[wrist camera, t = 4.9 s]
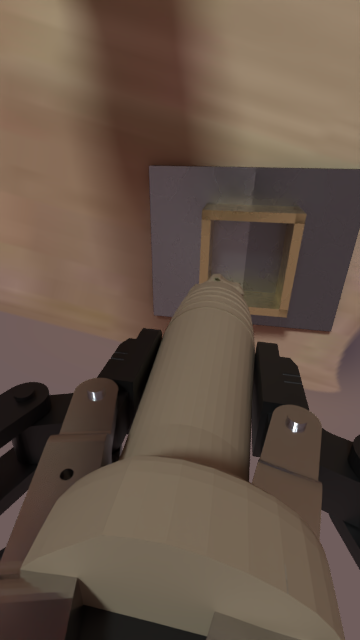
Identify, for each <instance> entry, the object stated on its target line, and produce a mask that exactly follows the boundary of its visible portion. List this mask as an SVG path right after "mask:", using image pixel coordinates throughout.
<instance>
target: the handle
mask: <svg viewBox="0 0 360 640" xmlns="http://www.w3.org/2000/svg"><path fill="white" fill-rule="evenodd" d="M243 296H244V291H243V289H242V287H241V286H240V284H239V283H237V282H235V283H234V282H230V281H228V280H226V279H225V278H224V277H223V276H222V275H221V274H213V275H212V276H211V278H210V279H208V280H207V281H206V282H204V283H201V284H195V285H194V286H193V287H192V288H191V289H190V291H189V292H188V294H187V296H186V297H185V298H184V300H183V301H182V302H181V304H180V306H179V307H178V309H177V310H176V312H175V314H174V315H173V317H172V319H171V321H170V323H169V325H168V327H167V329H166V331H165V333H164V336H163V338H162V341H161V344H160V347H159V350H158V353H157V355H156V358H155V361H154V364H153V367H152V370H151V373H150V376H149V379H148V382H147V384H146V387H145V390H144V393H143V396H142V399H141V401H140V404H139V407H138V410H137V412H136V415H135V418H134V421H133V424H132V426H131V429H130V432H129V435H128V438H127V440H126V443H125V446H124V449H123V451H122V453H121V455H120V458H119V460H118V461H117V462H114V463H112V464H109V465H106V466H104V467H101V468H99V469H97V470H95V471H93V472H91V473H89V474H87V475H86V476H84V477H82V478H81V479H79V480H78V481H76V482H75V483H74V484H73V485H72V486H71V487H70V488H69V489H68V490H67V491H66V492H65V493H64V494H63V495H62V496H61V497H59V498H58V500H57V501H56V503H55V505H54V506H53V508H52V510H51V512H50V513H49V515H48V517H47V519H46V521H45V522H44V524H43V526H42V528H41V530H40V531H39V533H38V535H37V537H36V539H35V541H34V543H33V545H32V547H31V548H30V550H29V552H28V554H27V556H26V558H25V560H24V562H23V564H22V566H21V569H22V570H27V571H33V572H40V573H48V574H56V575H64V576H71V577H77V578H78V581H79V586H80V590H81V594H82V598H83V605H87V606H91V607H95V608H99V609H103V610H107V611H111V612H115V613H119V614H123V615H127V616H131V617H135V618H139V619H143V620H146V621H150V622H154V623H158V624H162V625H166V626H170V627H173V628H177V629H181V630H185V631H189V632H192V633H196V634H200V635H204V636H207V635H208V632H209V628H210V625H211V622H212V618H213V615H214V612H215V611H216V612H219V613H222V614H225V615H228V616H231V617H233V618H236V619H239V620H242V621H244V622H247V623H250V624H253V625H256V626H258V627H261V628H264V629H267V630H270V631H273V632H277V633H280V634H283V635H287V636H290V637H293V638H297V639H300V640H345V637H344V632H343V627H342V623H341V618H340V613H339V609H338V604H337V599H336V595H335V590H334V586H333V582H332V577H331V573H330V569H329V565H328V561H327V558H326V555H325V552H324V549H323V547H322V545H321V543H320V541H319V540H318V538H317V537H316V535H315V534H314V532H313V531H312V529H311V528H310V527H309V526H308V525H307V524H306V522H305V521H304V520H303V519H302V518H301V517H300V516H299V515H298V514H297V513H296V512H295V511H293V510H292V509H290V508H289V507H288V506H286V505H285V504H284V503H282V502H281V501H279V500H278V499H277V498H275V497H274V496H272V495H271V494H269V493H268V492H266V491H264V490H263V489H261V488H259V487H257V486H255V485H253V484H252V483H250V482H249V466H250V442H251V440H250V439H251V417H252V398H253V380H254V362H255V344H254V332H253V325H252V320H251V315H250V311H249V308H248V306H247V303H246V301H245V299H244V298H243Z"/></svg>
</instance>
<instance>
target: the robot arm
mask: <svg viewBox="0 0 360 640" xmlns="http://www.w3.org/2000/svg"><path fill="white" fill-rule="evenodd" d="M161 341H162V332H161V330H155V329H146V328H143V329H142V331H141V332H140V334H139V335H138V337H137V339H131V338H129V339H127V340H126V341H124V342H123V343H121V344H120V345H119V346H118V348H117V350H116V351H115V353H114V354H113V355H112V357H111V359H109V361H108V362H107V364H106V365H105V367H104V368H103V370H102V371H101V373H100V374H99V375H98V377H97V378H93V379H89V380H87V381H84V382H83V383H81V384H80V385H79V386H77V388H76V389H75V391H74V393H70V394H59V395H49V390H48V388H47V386H45V385H44V384H42V383H38V382H29V383H24V384H20V385H17V386H15V387H13V388H11V389H9V390H8V391H6V392H4V393H3V394H1V395H0V448H1V447H3V446H4V445H5V444H7V443H8V442H9V441H11V440H12V443H13V446H14V447H13V448H12V449H11V450H9V451H8V452H7V453H5V454H4V455H3V456H1V457H0V515H1V514H2V513H3V512H4V511H5V510H7V509H8V508H9V507H10V506H11V505H12V504H13V503H14V502H15V501H16V500H18V499H19V497H21V496H22V495H23V494H24V493H25V492H26V491H27V490H28V492H27V494H26V497H25V499H24V502H23V504H22V507H21V509H20V512H19V515H18V517H17V520H16V523H15V525H14V527H13V530H12V533H11V535H10V538H9V541H8V543H7V546H6V547H5V548H4V549H2V550H1V551H0V640H300V639H297V638H293V637H290V636H287V635H283V634H280V633H277V632H273V631H270V630H267V629H264V628H261V627H258V626H256V625H253V624H250V623H247V622H244V621H242V620H239V619H236V618H233V617H231V616H228V615H225V614H222V613H219V612H216V611H215V612H214V615H213V618H212V622H211V625H210V628H209V632H208V635H207V636H204V635H200V634H196V633H192V632H189V631H185V630H181V629H177V628H173V627H170V626H166V625H162V624H158V623H154V622H150V621H146V620H143V619H139V618H135V617H131V616H127V615H123V614H119V613H115V612H111V611H107V610H103V609H99V608H95V607H91V606H87V605H83V598H82V594H81V590H80V586H79V581H78V578H77V577H71V576H64V575H56V574H48V573H40V572H33V571H27V570H22V569H21V566H22V564H23V562H24V560H25V558H26V556H27V554H28V552H29V550H30V548H31V547H32V545H33V543H34V541H35V539H36V537H37V535H38V533H39V531H40V530H41V528H42V526H43V524H44V522H45V521H46V519H47V517H48V515H49V513H50V512H51V510H52V508H53V506H54V505H55V503H56V501H57V500H58V498H59V497H61V496H62V495H63V494H64V493H65V492H66V491H67V490H68V489H69V488H70V487H71V486H72V485H73V484H74V483H75V482H76V481H78V480H79V479H81V478H82V477H84V476H86V475H87V474H89V473H91V472H93V471H95V470H97V469H99V468H101V467H104V466H106V465H109V464H112V463H114V462H117V461H118V460H119V458H120V455H121V453H122V443H123V440H124V438H125V436H126V434H129V432H130V429H131V426H132V424H133V421H134V418H135V415H136V412H137V410H138V407H139V404H140V401H141V399H142V396H143V393H144V390H145V387H146V384H147V382H148V379H149V376H150V373H151V370H152V367H153V364H154V361H155V358H156V355H157V353H158V350H159V347H160V344H161ZM252 452H253V456H256V457H260V459H259V460H258V463H257V467H256V470H255V474H254V478H253V481H252V484H253V485H255V486H257V487H259V488H261V489H263V490H264V491H266V492H268V493H269V494H271V495H272V496H274V497H275V498H277V499H278V500H279V501H281V502H282V503H284V504H285V505H286V506H288V507H289V508H290V509H292V510H293V511H295V512H296V513H297V514H298V515H299V516H300V517H301V518H302V519H303V520H304V521H305V522H306V524H307V525H308V526H309V527H310V528H311V529H312V531H313V532H314V534H315V535H316V537H317V538H318V540H319V539H320V522H321V510H323V511H325V512H327V513H329V515H330V518H331V520H332V522H333V524H334V525H335V527H336V529H337V531H338V532H339V534H340V536H341V538H342V539H343V541H344V543H345V544H346V546H347V548H348V550H349V552H350V553H351V555H352V557H353V558H354V560H355V562H356V564H357V566H358V567H359V569H360V435H359V436H357V437H356V438H355V439H354V442H351V441H349V440H346V439H344V438H341V437H338V436H336V435H333V434H331V433H329V432H327V431H326V430H324V429H323V428H322V426H321V423H320V421H319V419H318V418H317V417H316V416H315V415H314V414H313V413H312V412H310V411H309V408H308V404H307V400H306V396H305V392H304V388H303V385H302V381H301V377H300V373H299V370H298V366H297V365H296V364H295V363H294V362H293V361H292V360H291V359H290V358H285V357H280V356H279V351H278V345H277V344H274V343H265V342H258V343H257V347H256V353H255V362H254V380H253V398H252Z"/></svg>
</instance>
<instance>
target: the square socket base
mask: <svg viewBox="0 0 360 640" xmlns="http://www.w3.org/2000/svg"><path fill="white" fill-rule="evenodd" d="M149 183H150V213H151V243H152V273H153V303H154V315H158V316H169V317H173V315H174V314H175V312H176V310H177V309H178V307H179V306H180V304H181V302H182V301H183V300H184V298H185V297H186V296H187V294H188V292H189V291H190V289H191V288H192V287H193V286H194V285H195V284H201V283H204V282H206V281H207V280H208V279H210V278H211V276H212V275H213V274H221V275H222V276H223V277H224V278H225V279H226V280H228V281H230V282H234V283H235V282H237V283H239V284H240V286H241V287H242V289H243V291H244V296H243V298H244V299H245V301H246V303H247V306H248V308H249V311H250V315H251V320H252V324H255V325H266V326H277V327H288V328H299V329H309V330H320V331H331V329H332V326H333V322H334V318H335V315H336V311H337V308H338V304H339V300H340V297H341V293H342V290H343V286H344V282H345V279H346V275H347V271H348V268H349V264H350V261H351V257H352V253H353V250H354V246H355V243H356V239H357V235H358V232H359V228H360V169H321V168H264V167H207V166H149Z"/></svg>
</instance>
